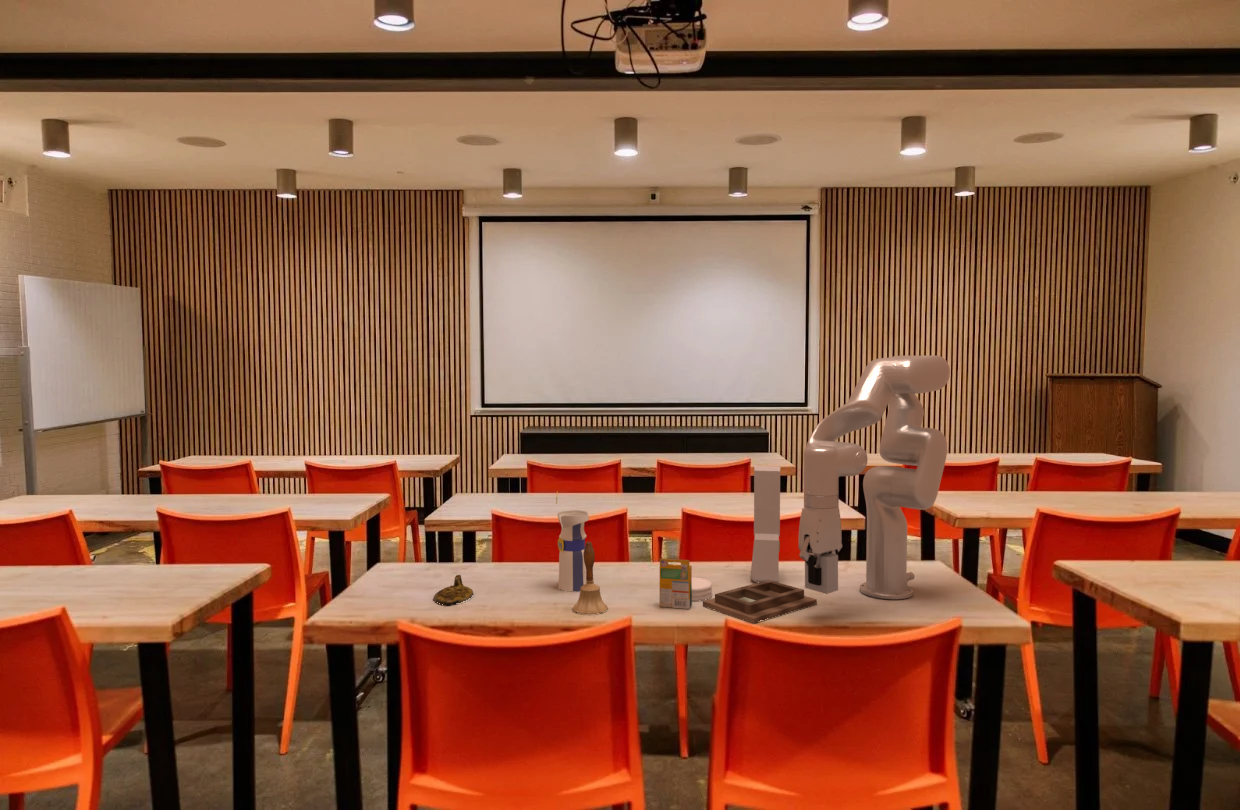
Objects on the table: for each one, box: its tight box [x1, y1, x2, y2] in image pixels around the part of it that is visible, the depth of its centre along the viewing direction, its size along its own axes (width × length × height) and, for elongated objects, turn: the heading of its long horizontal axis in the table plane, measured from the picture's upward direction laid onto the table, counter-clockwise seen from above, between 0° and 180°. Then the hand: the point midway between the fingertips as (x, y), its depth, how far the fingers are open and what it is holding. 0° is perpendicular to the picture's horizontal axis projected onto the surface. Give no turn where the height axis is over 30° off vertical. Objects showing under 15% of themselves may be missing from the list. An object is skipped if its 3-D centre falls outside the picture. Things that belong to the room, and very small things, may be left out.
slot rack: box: [702, 580, 818, 624], centre depth 186 cm, size 22×16×3 cm
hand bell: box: [572, 541, 609, 615], centre depth 183 cm, size 8×8×16 cm
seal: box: [433, 574, 474, 606], centre depth 194 cm, size 9×5×15 cm
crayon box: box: [659, 558, 693, 610], centre depth 185 cm, size 7×3×12 cm, turn 75°
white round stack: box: [692, 577, 713, 602], centre depth 194 cm, size 10×10×4 cm
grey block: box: [804, 550, 839, 595], centre depth 176 cm, size 4×6×8 cm, turn 38°
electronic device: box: [750, 465, 781, 583], centre depth 209 cm, size 12×8×30 cm, turn 168°
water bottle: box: [555, 490, 590, 592], centre depth 201 cm, size 8×9×25 cm
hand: (821, 581), depth 176 cm, fingers closed on grey block, 4 cm apart
